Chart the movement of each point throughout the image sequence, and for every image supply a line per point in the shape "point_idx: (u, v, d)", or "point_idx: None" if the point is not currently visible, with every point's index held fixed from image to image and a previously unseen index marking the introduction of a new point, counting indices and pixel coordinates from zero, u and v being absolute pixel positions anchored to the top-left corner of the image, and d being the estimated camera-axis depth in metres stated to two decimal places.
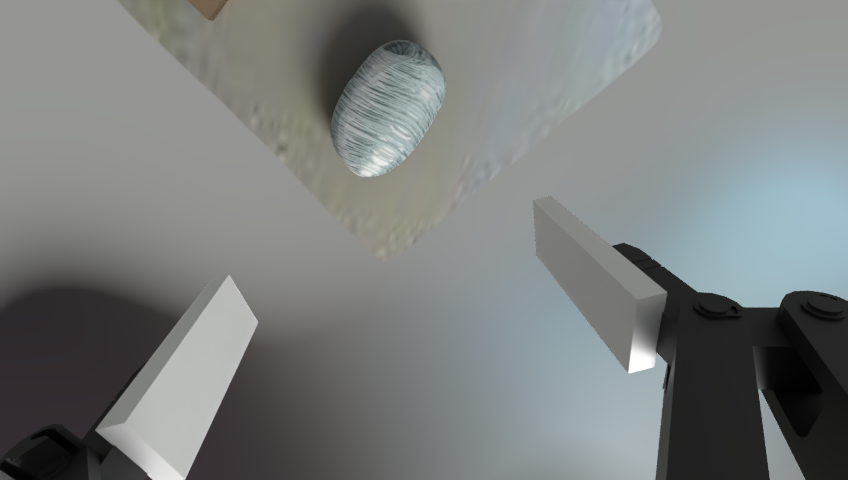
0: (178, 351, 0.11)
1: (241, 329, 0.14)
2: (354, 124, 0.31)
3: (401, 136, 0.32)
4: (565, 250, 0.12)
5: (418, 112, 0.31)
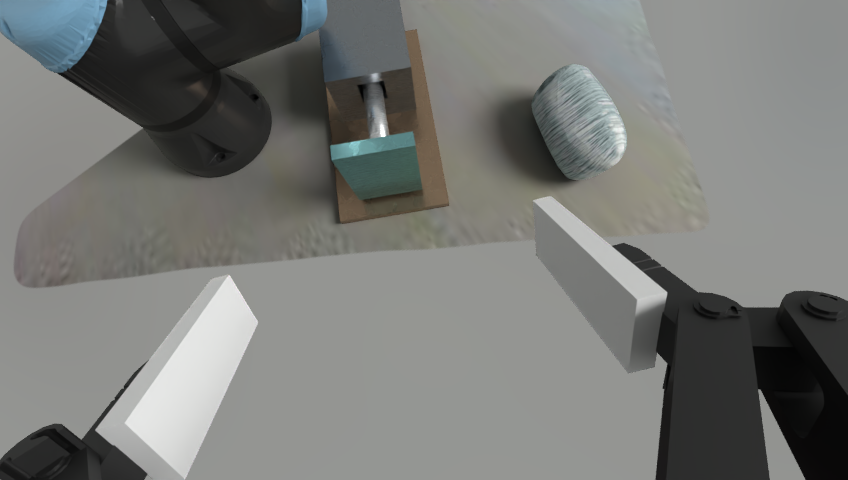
0: (178, 351, 0.11)
1: (241, 329, 0.14)
2: (581, 127, 0.37)
3: (609, 103, 0.38)
4: (565, 250, 0.12)
5: (598, 85, 0.39)
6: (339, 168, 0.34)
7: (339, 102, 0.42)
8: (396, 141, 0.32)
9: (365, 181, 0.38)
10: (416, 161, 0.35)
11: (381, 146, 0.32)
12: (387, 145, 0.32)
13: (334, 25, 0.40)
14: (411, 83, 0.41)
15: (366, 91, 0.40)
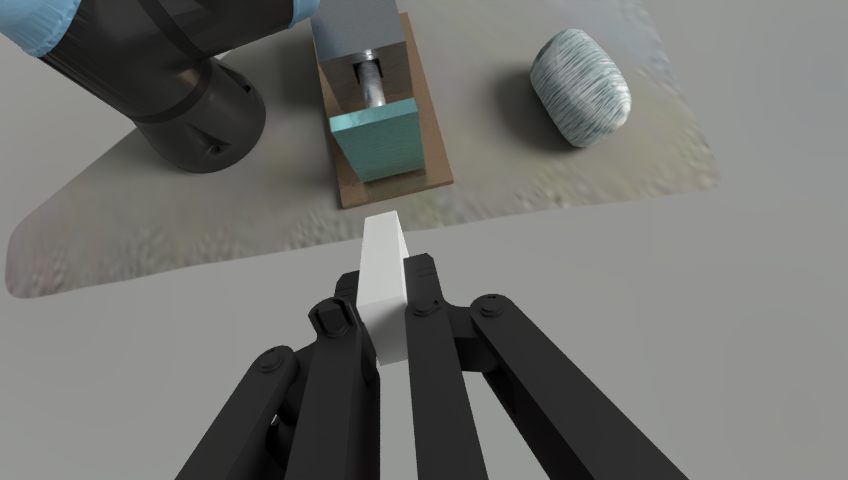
0: None
1: None
2: (584, 88, 0.36)
3: (610, 63, 0.37)
4: None
5: (597, 46, 0.38)
6: (340, 142, 0.33)
7: (334, 84, 0.41)
8: (397, 108, 0.31)
9: (366, 158, 0.36)
10: (418, 131, 0.34)
11: (382, 115, 0.31)
12: (388, 113, 0.31)
13: (325, 6, 0.40)
14: (406, 59, 0.40)
15: (361, 70, 0.40)
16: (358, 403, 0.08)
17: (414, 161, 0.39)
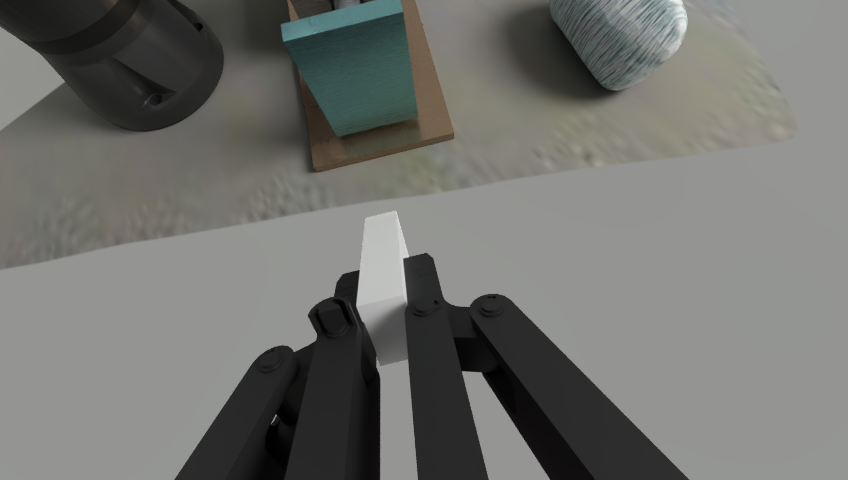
0: None
1: None
2: (626, 1, 0.27)
3: None
4: None
5: None
6: (298, 63, 0.24)
7: (303, 13, 0.33)
8: (375, 9, 0.22)
9: (339, 95, 0.28)
10: (406, 52, 0.25)
11: (354, 17, 0.22)
12: (362, 15, 0.22)
13: None
14: None
15: None
16: (358, 403, 0.08)
17: (403, 105, 0.30)
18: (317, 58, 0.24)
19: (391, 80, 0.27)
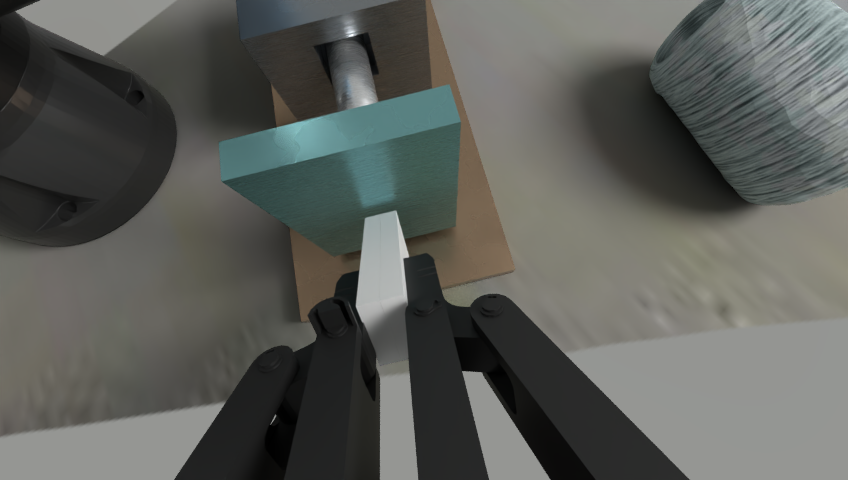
0: None
1: None
2: (829, 90, 0.16)
3: None
4: None
5: None
6: (258, 201, 0.13)
7: (284, 88, 0.22)
8: (405, 114, 0.11)
9: (335, 224, 0.17)
10: (454, 169, 0.14)
11: (364, 132, 0.11)
12: (380, 128, 0.11)
13: None
14: (425, 37, 0.20)
15: None
16: (358, 403, 0.08)
17: (436, 220, 0.20)
18: (293, 192, 0.13)
19: (422, 200, 0.16)
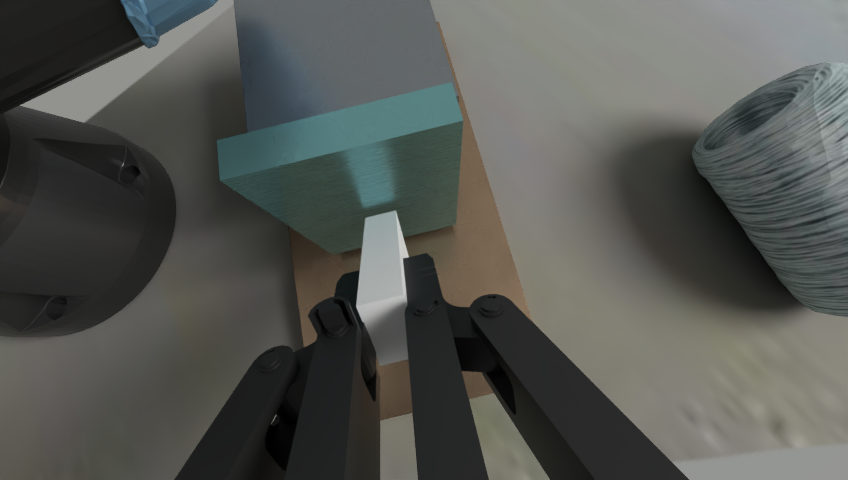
0: None
1: None
2: None
3: None
4: None
5: None
6: (257, 201, 0.13)
7: None
8: (407, 113, 0.11)
9: (335, 222, 0.16)
10: (456, 168, 0.14)
11: (364, 131, 0.11)
12: (381, 126, 0.11)
13: (271, 13, 0.18)
14: None
15: None
16: (358, 403, 0.08)
17: (436, 218, 0.19)
18: (293, 191, 0.13)
19: (423, 199, 0.16)
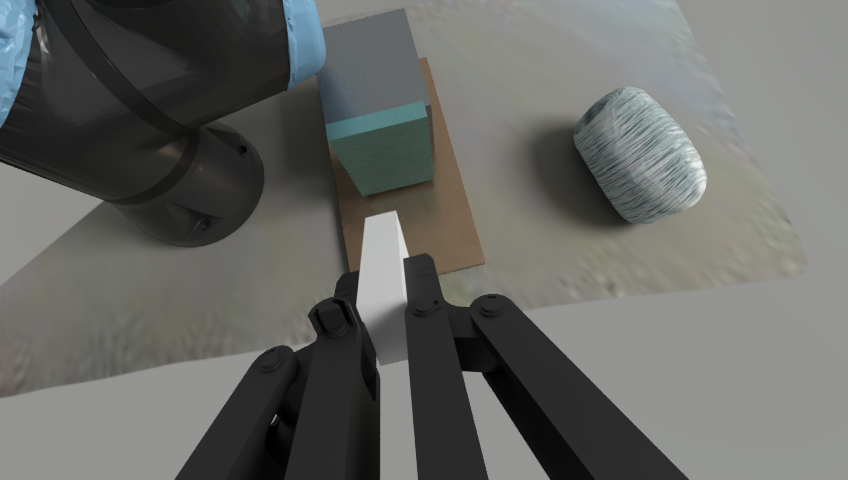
0: None
1: None
2: (650, 164, 0.30)
3: (680, 132, 0.30)
4: None
5: (662, 110, 0.31)
6: (337, 152, 0.28)
7: None
8: (404, 113, 0.27)
9: (368, 170, 0.32)
10: (428, 139, 0.30)
11: (387, 120, 0.27)
12: (394, 119, 0.27)
13: (333, 61, 0.34)
14: (430, 122, 0.34)
15: None
16: (358, 403, 0.08)
17: (422, 172, 0.35)
18: (353, 148, 0.28)
19: (413, 157, 0.32)
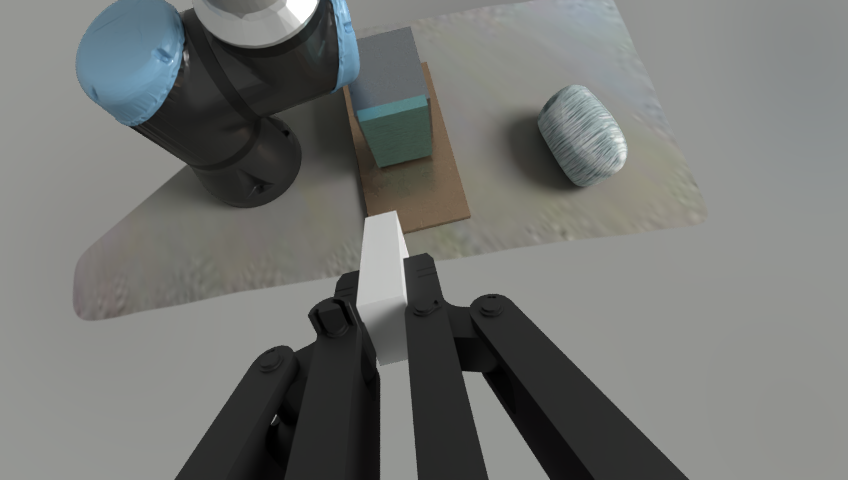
0: None
1: None
2: (586, 139, 0.42)
3: (608, 117, 0.42)
4: None
5: (597, 102, 0.43)
6: (364, 131, 0.40)
7: None
8: (411, 103, 0.39)
9: (384, 145, 0.44)
10: (428, 122, 0.42)
11: (400, 108, 0.39)
12: (404, 107, 0.39)
13: None
14: (429, 111, 0.46)
15: None
16: (358, 403, 0.08)
17: (423, 148, 0.47)
18: (376, 128, 0.40)
19: (417, 136, 0.44)
